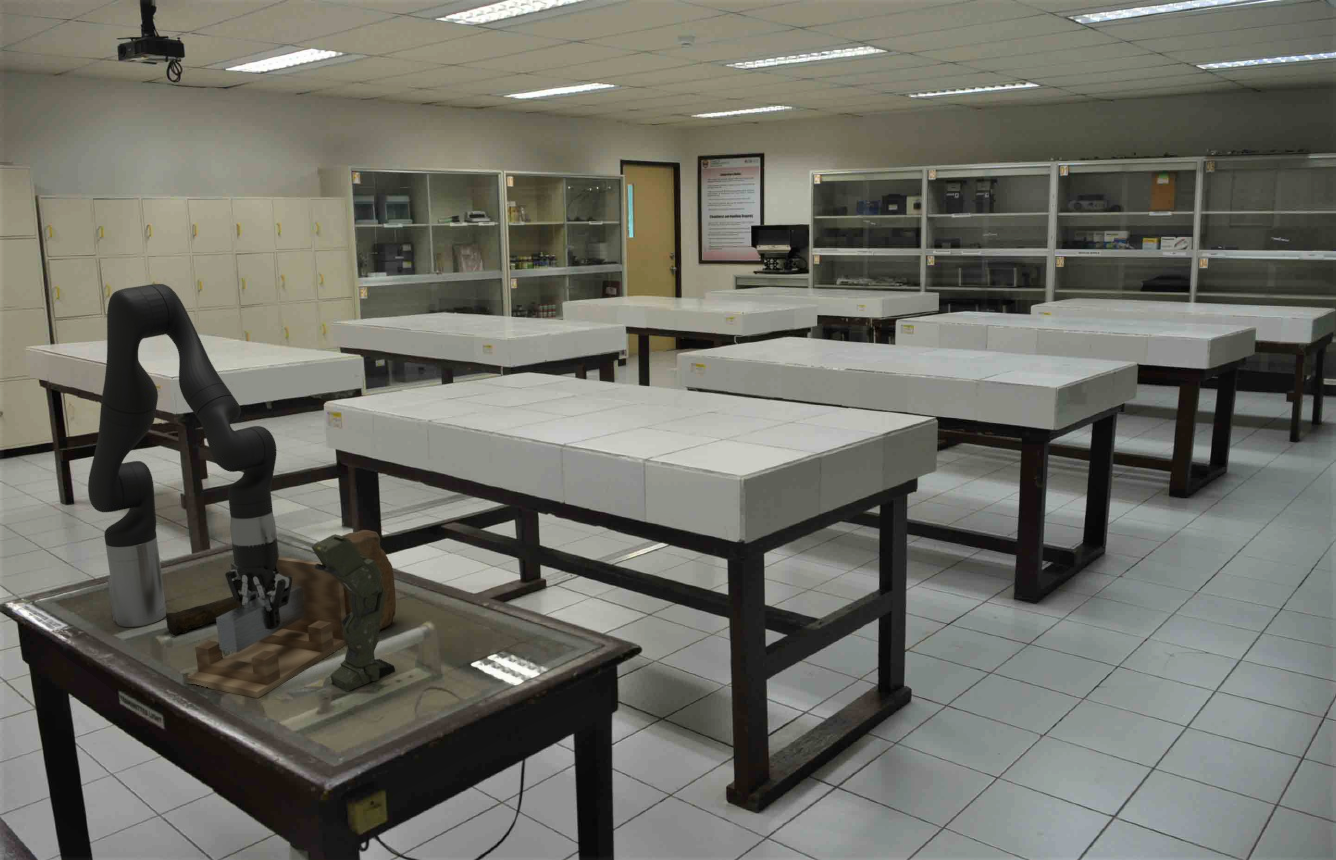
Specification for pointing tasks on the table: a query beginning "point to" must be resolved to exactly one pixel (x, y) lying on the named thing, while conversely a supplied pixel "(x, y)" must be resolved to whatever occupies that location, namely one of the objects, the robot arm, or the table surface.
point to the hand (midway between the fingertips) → (263, 625)
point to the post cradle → (280, 639)
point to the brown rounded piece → (371, 549)
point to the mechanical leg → (356, 610)
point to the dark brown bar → (199, 615)
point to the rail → (256, 621)
